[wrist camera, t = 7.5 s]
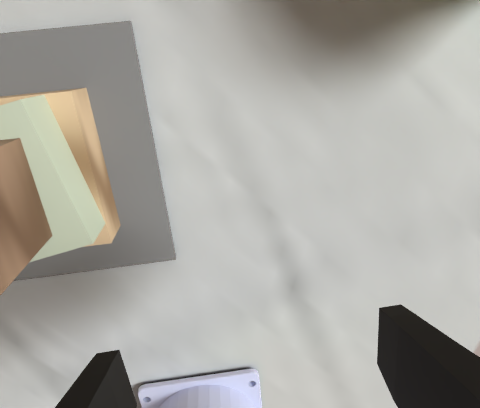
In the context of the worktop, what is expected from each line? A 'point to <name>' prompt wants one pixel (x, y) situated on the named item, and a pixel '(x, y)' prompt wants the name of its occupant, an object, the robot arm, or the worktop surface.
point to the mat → (99, 134)
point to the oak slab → (83, 150)
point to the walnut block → (18, 213)
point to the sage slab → (53, 175)
